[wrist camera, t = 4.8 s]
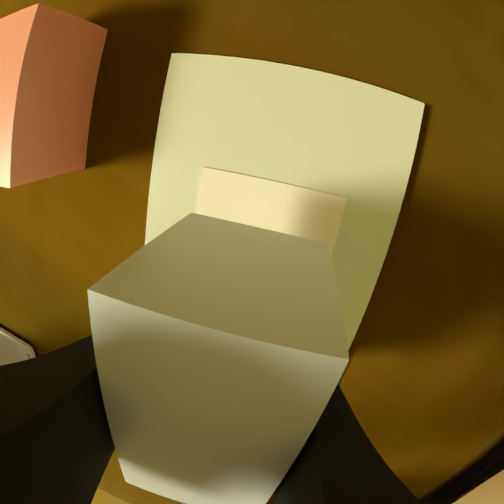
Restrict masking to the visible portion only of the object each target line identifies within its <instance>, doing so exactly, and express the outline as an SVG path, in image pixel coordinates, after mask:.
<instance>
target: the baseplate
mask: <svg viewBox="0 0 504 504" xmlns="http://www.w3.org/2000/svg"><path fill="white" fill-rule="evenodd" d="M424 105H425V103H422V102H420V101H417V100H414V99H412V98H409V97H406V96H403V95H400V94H398V93H395V92H392V91H389V90H386V89H383V88H380V87H376V86H373V85H370V84H367V83H363V82H360V81H356V80H353V79H349V78H345V77H341V76H337V75H333V74H329V73H325V72H321V71H316V70H312V69H307V68H302V67H297V66H292V65H286V64H281V63H275V62H268V61H262V60H255V59H247V58H238V57H229V56H218V55H205V54H186V53H172V54H171V59H170V63H169V68H168V73H167V78H166V83H165V88H164V93H163V99H162V104H161V110H160V116H159V122H158V128H157V135H156V141H155V148H154V156H153V164H152V172H151V180H150V190H149V200H148V211H147V223H146V236H145V245H146V244H148V243H149V242H150V241H152V240H153V239H154V238H156V237H157V236H159V235H160V234H161V233H163V232H164V231H166V230H167V229H168V228H170V227H171V226H173V225H174V224H176V223H177V222H178V221H180V220H181V219H183V218H184V217H186V216H187V215H188V214H190V213H196V214H201V215H205V216H210V217H214V218H219V219H223V220H228V221H232V222H237V223H241V224H246V225H250V226H254V227H259V228H263V229H268V230H272V231H276V232H281V233H285V234H289V235H293V236H298V237H302V238H306V239H310V240H314V241H318V242H323V243H327V244H328V246H329V250H330V255H331V260H332V264H333V269H334V274H335V279H336V284H337V290H338V295H339V300H340V306H341V311H342V317H343V323H344V329H345V335H346V341H347V347H348V350H349V348H350V346H351V344H352V341H353V339H354V337H355V334H356V332H357V330H358V327H359V325H360V323H361V320H362V318H363V315H364V313H365V310H366V308H367V305H368V303H369V300H370V298H371V295H372V292H373V290H374V287H375V285H376V282H377V279H378V276H379V274H380V271H381V268H382V265H383V262H384V259H385V256H386V254H387V251H388V248H389V244H390V241H391V238H392V235H393V232H394V229H395V226H396V222H397V219H398V216H399V212H400V209H401V205H402V202H403V198H404V195H405V191H406V187H407V183H408V179H409V176H410V172H411V167H412V163H413V159H414V155H415V150H416V146H417V141H418V137H419V132H420V127H421V122H422V116H423V111H424Z"/></svg>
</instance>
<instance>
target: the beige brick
mask: <svg viewBox="0 0 504 504" xmlns="http://www.w3.org/2000/svg"><path fill="white" fill-rule="evenodd" d="M88 302H89V312H90V322H91V330H92V338H93V345H94V352H95V359H96V365H97V371H98V376H99V382H100V387H101V392H102V397H103V402H104V406H105V411H106V415H107V419H108V423H109V427H110V431H111V435H112V439H113V442H114V446H115V450H116V453H117V456H118V460H119V463H120V466H121V469H122V473H123V476H124V479H125V482H127V483H130V484H132V485H135V486H137V487H140V488H142V489H145V490H147V491H150V492H153V493H155V494H158V495H161V496H164V497H167V498H170V499H173V500H176V501H179V502H182V503H186V504H266V502H267V501H268V500H269V498H270V497H271V495H272V494H273V492H274V491H275V490H276V488H277V487H278V485H279V484H280V482H281V481H282V479H283V478H284V476H285V475H286V473H287V471H288V470H289V468H290V467H291V465H292V464H293V462H294V460H295V459H296V457H297V456H298V454H299V452H300V451H301V449H302V447H303V446H304V444H305V442H306V441H307V439H308V437H309V436H310V434H311V432H312V430H313V429H314V427H315V425H316V423H317V422H318V420H319V418H320V416H321V414H322V412H323V411H324V409H325V407H326V405H327V403H328V401H329V399H330V397H331V396H332V394H333V392H334V390H335V388H336V386H337V384H338V382H339V380H340V378H341V376H342V374H343V372H344V370H345V368H346V365H347V363H348V361H349V354H348V347H347V341H346V335H345V329H344V323H343V317H342V311H341V306H340V300H339V295H338V290H337V284H336V279H335V274H334V269H333V264H332V260H331V255H330V250H329V246H328V244H327V243H323V242H318V241H314V240H310V239H306V238H302V237H298V236H293V235H289V234H285V233H281V232H276V231H272V230H268V229H263V228H259V227H254V226H250V225H246V224H241V223H237V222H232V221H228V220H223V219H219V218H214V217H210V216H205V215H201V214H196V213H190V214H188V215H187V216H186V217H184V218H183V219H181V220H180V221H178V222H177V223H176V224H174V225H173V226H171V227H170V228H168V229H167V230H166V231H164V232H163V233H161V234H160V235H159V236H157V237H156V238H154V239H153V240H152V241H150V242H149V243H148V244H146V245H145V246H144V247H142V248H141V249H139V250H138V251H137V252H135V253H134V254H133V255H131V256H130V257H129V258H127V259H126V260H125V261H123V262H122V263H121V264H119V265H118V266H117V267H115V268H114V269H113V270H112V271H110V272H109V273H108V274H106V275H105V276H104V277H102V278H101V279H100V280H99V281H97V282H96V283H95V284H93V285H92V286H91V287H90V288H88Z"/></svg>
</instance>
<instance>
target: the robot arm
mask: <svg viewBox="0 0 504 504" xmlns="http://www.w3.org/2000/svg"><path fill="white" fill-rule="evenodd" d="M114 450H115V446H114V442H113V439H112V435H111V431H110V427H109V423H108V419H107V415H106V411H105V406H104V402H103V397H102V392H101V387H100V382H99V376H98V371H97V365H96V359H95V352H94V345H93V338H92V335H91V336H89V337H86V338H84V339H82V340H79V341H77V342H75V343H73V344H70V345H68V346H66V347H63V348H61V349H58V350H55V351H53V352H50V353H47V354H44V355H41V356H38V357H36V356H35V352H34V350H33V348H32V347H31V346H30V345H29V344H27V343H26V342H24V341H22V340H21V339H19V338H17V337H16V336H14V335H12V334H11V333H9V332H8V331H6V330H5V329H3V328H1V327H0V504H91V502H92V499H93V497H94V494H95V492H96V490H97V487H98V485H99V482H100V480H101V478H102V475H103V473H104V471H105V469H106V467H107V464H108V462H109V460H110V458H111V456H112V454H113V452H114ZM273 504H422V503H421V502H420V501H419V500H418V499H417V498H416V497H415V496H414V495H413V494H412V493H411V492H410V491H409V489H408V488H407V487H406V486H405V485H404V484H403V483H402V482H401V481H400V480H399V479H398V477H397V476H396V475H395V474H394V473H393V472H392V470H391V469H390V468H389V467H388V465H387V464H386V463H385V461H384V460H383V459H382V457H381V456H380V455H379V453H378V452H377V451H376V449H375V448H374V446H373V445H372V443H371V442H370V440H369V439H368V437H367V435H366V434H365V432H364V430H363V429H362V427H361V426H360V424H359V422H358V420H357V419H356V417H355V415H354V413H353V411H352V410H351V408H350V406H349V404H348V402H347V400H346V398H345V396H344V394H343V392H342V390H341V388H340V386H339V384H337V386H336V388H335V390H334V392H333V394H332V396H331V397H330V399H329V401H328V403H327V405H326V407H325V409H324V411H323V412H322V414H321V416H320V418H319V420H318V422H317V423H316V425H315V427H314V429H313V430H312V432H311V434H310V436H309V437H308V439H307V441H306V442H305V444H304V446H303V447H302V449H301V451H300V452H299V454H298V456H297V457H296V459H295V460H294V462H293V464H292V465H291V467H290V468H289V470H288V471H287V473H286V475H285V476H284V478H283V479H282V481H281V482H280V484H279V485H278V487H277V488H276V490H275V497H274V503H273Z"/></svg>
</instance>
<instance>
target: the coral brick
mask: <svg viewBox="0 0 504 504" xmlns="http://www.w3.org/2000/svg"><path fill="white" fill-rule="evenodd" d="M107 32H108V29H106V28H103V27H101V26H99V25H96V24H94V23H91V22H89V21H86V20H84V19H81V18H79V17H76V16H74V15H71V14H68V13H66V12H63V11H60V10H57V9H54V8H51V7H48V6H45V5H42V4H36V5H33V6H30V7H28V8H25V9H23V10H20V11H18V12H15V13H13V14H11V15H8V16H6V17H4V18H2V19H0V186H2V187H6V188H13V187H16V186H20V185H23V184H27V183H30V182H34V181H38V180H42V179H45V178H49V177H53V176H57V175H61V174H66V173H70V172H74V171H79V170H83V169H85V164H86V152H87V142H88V133H89V125H90V117H91V110H92V104H93V97H94V91H95V86H96V80H97V75H98V70H99V65H100V61H101V56H102V52H103V48H104V43H105V39H106V36H107Z"/></svg>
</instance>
